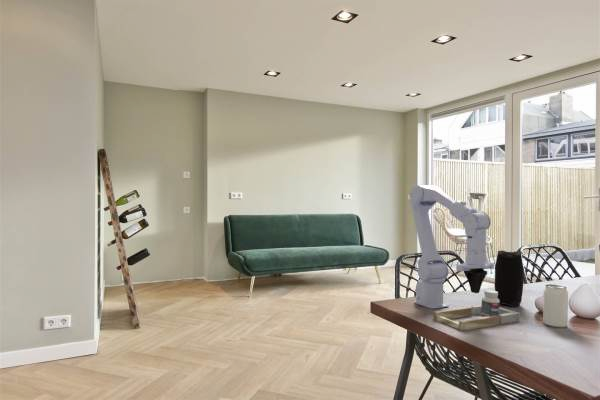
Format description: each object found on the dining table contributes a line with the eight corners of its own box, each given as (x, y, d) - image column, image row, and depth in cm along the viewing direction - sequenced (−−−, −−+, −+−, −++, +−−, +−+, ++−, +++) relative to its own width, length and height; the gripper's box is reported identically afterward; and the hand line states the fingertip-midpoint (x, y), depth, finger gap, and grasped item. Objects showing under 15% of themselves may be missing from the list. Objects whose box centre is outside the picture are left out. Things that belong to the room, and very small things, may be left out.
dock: (471, 313, 138) (471, 306, 138) (488, 311, 141) (488, 303, 141) (501, 323, 127) (502, 315, 127) (519, 320, 130) (519, 313, 130)
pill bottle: (492, 321, 129) (493, 294, 129) (477, 317, 133) (478, 290, 133) (502, 319, 132) (503, 292, 131) (487, 314, 136) (488, 288, 136)
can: (571, 328, 123) (572, 289, 123) (547, 327, 124) (548, 288, 124) (562, 322, 129) (562, 284, 129) (539, 320, 131) (540, 283, 131)
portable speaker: (490, 301, 154) (491, 250, 154) (514, 301, 154) (515, 250, 154) (501, 307, 145) (502, 253, 145) (527, 308, 145) (528, 253, 145)
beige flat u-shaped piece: (433, 319, 131) (433, 311, 131) (467, 314, 137) (468, 306, 137) (462, 330, 120) (462, 322, 120) (498, 324, 126) (498, 316, 126)
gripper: (469, 253, 123) (468, 297, 124) (502, 250, 129) (501, 293, 130) (451, 249, 130) (450, 292, 130) (484, 247, 136) (483, 288, 136)
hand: (475, 292), depth 130 cm, fingers closed
